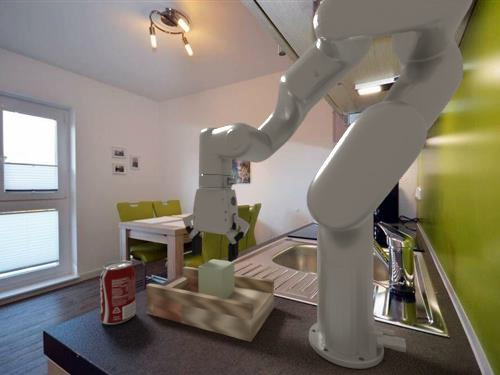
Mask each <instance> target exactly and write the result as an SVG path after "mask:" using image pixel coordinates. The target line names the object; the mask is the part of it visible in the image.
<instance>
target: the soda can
mask: <svg viewBox="0 0 500 375" xmlns="http://www.w3.org/2000/svg"><path fill="white" fill-rule="evenodd" d="M132 264H133V263H132V261H131V260H117V261H111V262H108V263H106V264H104V265H103V270H102V271H101V273H100V276H99V287H100V288H99V290H100V291H99V293H100V296H99V297H100V303H99V304H100V322H101V323H102V324H103V325H107V326H108V325H109V326H116V325H121V324H123V323H126V322H127V321H130V320H131V318H133V317H134V316H135V315H136V311H137V309H136V269H135V268H134V266H133V265H132Z"/></svg>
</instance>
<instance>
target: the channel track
mask: <svg viewBox="0 0 500 375" xmlns="http://www.w3.org/2000/svg"><path fill="white" fill-rule="evenodd" d="M234 275H235V291H234V292H233V293H232V294H231V295H230V296H229V297H228V298H226V299H225V298H220V297H215V296H210V295H205V294H201V293H199V285H198V268H197V267H192V266H191V267H190V266H184V267H182V277H179V278H177V279H176V280H174V281H172V282H170V283H169V284H167V285H161V284H156V283H147V284H146V286H145V287H146V288H145V291H146V292H145V294H146V295H145V297H146V299H145V300H146V314H148V315H150V316H154V317H157V316H158V318H162V319H166V320H169V321H173V322H176V323H180V324H183V325H188V326H191V327H195V328H198V329H202V330H206V331H210V332H213V333H218V334H221V335H225V336H229V337H232V338H235V339H238V340H242V341H247V342H250V343H252V341H253V340H254V338H255V337H256V335H257V333H258V332H259V330H260V329H261V328H262V326H263V325H264V323H265V322H266V320H267V319H268V317H269V316H270V314H271V313H272V311H273V310H274V308H275V279H268V278H263V277H257V276H250V275H245V274H244V275H243V274H239V273H237V274H236V273H234Z"/></svg>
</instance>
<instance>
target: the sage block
mask: <svg viewBox="0 0 500 375" xmlns="http://www.w3.org/2000/svg"><path fill="white" fill-rule="evenodd" d="M234 274H235V261H232V262H229V261H228V260H222V259H214V258H212V259H210V260H208V261H206V262H205V263H202V264H200V265H198V285H199V293H201V294H205V295H210V296H215V297H220V298H225V299H226V298H228V297H229V296H230V295H231V294H232V293H233V292H234V291H235V275H234Z"/></svg>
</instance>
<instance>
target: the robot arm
mask: <svg viewBox="0 0 500 375" xmlns="http://www.w3.org/2000/svg"><path fill="white" fill-rule="evenodd" d="M472 3H473V0H322V1H321V3H320V4H319V5H318V7H317V8H316V11H315V13H314V17H313V23H312V27H313V32H314V35H315V37H316V40H315V41H314V42H313V43H312V44H311V45H310V47H308V49H306V50H305V52H304V53H303V54H302V55H301V56H300V57H299V58H298V59H297V60H295V62H294V63H293V64H292V65H291V66H290V67H289V68H288V69H287V70H286V71H285V72H284V73H283V74H282V76H281V78H280V79H279V84H278V92H277V102H276V104H275V107H274V109H273V111H272V113H271V114H270V115H269V117H268V118H267V119H266V120H265V121H264V122H263V123H262V124H261V125H260V126H259V127H258V128H256V127H254V126H251V125H250V124H247V123H244V122H235V123H231V124H228V125H225V126H221V127H206V128H203V129H202V130H201V131H200V133H199V138H198V140H199V142H198V143H199V144H198V147H199V148H198V152H199V153H198V188H196V191H195V195H194V201H193V208H192V213H191V214H189V215H187V216H185V217H184V218H183V219H182V222H183V225H184V227H185V230H186V232H187V234H188V237H189V239H191V248H190V249H191V256H193V257H194V256H197V255H199V254H201V253H202V251H203V237H202V236H201V235H202V233H207V234H208V233H209V234H216V235H217V234H218V235H225V236H226V238H227V239H228V240H229V243H228V244H227V245H228V246H227V261H229V262H235V260H237V259H238V256H239V243H240V242H241V241H242V239H243V238H245V236H246V235H247V232H248V230H250V227H251V224H250V223H249V222H247V221H246V220H245V219H243V218H242V217H240V216H239V207H238V200H237V193H236V189H232V188H233V186H234V185H237V179H236V178H233V160H238V161H242V162H243V161H244V162H249V163H262V162H264V161H266V160H268V159H270V158H271V157H272V156H273V155H274V154H275V153H277V151H279V150H280V149H281V148H282V147H283V146H284V145H286V143H288V141H289V140H290V139H292V137H293V135H295V133H296V131H297V130H298V129H299V128H300V126H301V125H302V123H303V122H304V120H305V118H307V115H308V114H309V112H310V111H311V110H313V108H314V107H315V106H316V105H317V104H319V102H320V101H322V99H323V98H324V97H326V95H327V94H328V93H329V92H331V91H332V90H333V89H334V88H335V87H336V86H337V85H338V84H339V83H340V82H342V81H343V80H344V79H345V78H346V77H348V75H349V74H351V72H352V71H354V70H355V69H356V68H357V67H358V66H359V65H360V64H361V63H362V62H363V61H364V60H365V58H366V57H367V55H368V54H369V52H370V50H371V46H372V43H373V42H372V41H373V39H376V38H382V37H386V36H392V37H391V47H392V51H393V54H394V56H395V58H396V60H397V62H398V64H399V66H400V75H399V76H398V77H397V79H396V80H395V81H394V83H393V84H392V85H391V87H390V89H388V91H387V93H386V95H385V96H384V97H383V99H382V100H381V101H380V102H377V103H375V104H373V105H370V106H368V107H367V108H366V109H364V110H363V111H362V112H360V113H359V114H358V115H357V116H356V117H355V118H354V120H352V121H351V123H350V125H349V126H348V127H347V128H346V130H345V132H343V135H342V136H341V137H340V139H339V141H338V142H337V143H336V144H335V146H334V147H333V149H332V150H331V152H330V153H329V155H328V156H327V158H326V159H325V161H324V162H323V164H321V167H320V168H319V170H318V171H317V173H316V174H315V175H314V176H313V179H312V180H311V182H310V184H309V186H308V188H307V193H306V207H307V208H308V209H307V210H308V212H309V214H310V216H311V217H312V219H313V220H314V221H315V222H316V223H317V234H316V235H317V237H316V259H317V260H316V274H317V275H316V277H317V278H316V283H317V284H316V287H317V288H316V292H317V293H316V294H317V295H316V297H317V298H316V300H317V301H316V302H317V305H316V307H317V308H316V312H317V316H316V317H317V318H316V321H317V322H315V323H314V324H313V325H312V326H311V327H310V329H309V330H308V340H309V341H308V342H309V345H310V346H311V347H312V349H313V350H314V351H315V353H316V354H318V355H319V356H320V357H322V358H324V360H327V361H328V362H330V363H332V364H335V365H338V366H341V367H344V368H348V369H356V370H357V369H359V370H360V369H370V368H373V367H375V366H377V365H379V363H381V362H382V361H383V359H384V357H385V356H384V353H385V351H384V350H385V349H384V348H386V349H387V348H388V349H392V350H393V351H394V350H395V351H399V352H402V353H403V352H404V353H407V352H406V351H407V343H406V339H405V338H404V337H403V338H402V337H398V336H395V335H396V334H395V330H393V329H387V328H381V327H380V325H376V324H377V323H376V319H375V316H374V263H375V261H374V257H375V256H374V254H375V253H374V213H375V212H376V210H377V209H378V207H379V206H380V205H381V204H382V203H383V201H384V200H385V198H386V197H388V196H389V194H390V193H391V192H392V190H393V189H394V188H395V186H396V185H398V182H400V181H401V179H402V178H403V177H404V175H405V174H406V172H407V171H408V170H409V169H410V168H411V166H412V165H413V164H414V163H415V162H416V159H418V157H419V156H420V154H421V152H422V151H423V150H424V146H425V145H426V142H427V137H428V136H427V135H428V131H429V130H430V128H432V127H433V125H434V123H435V122H436V121H437V119H438V118H439V116H441V114H442V112H443V111H444V110H445V108H446V107H447V105H448V104H449V103H450V102H451V100H452V98H453V97H454V95H455V94H456V93H457V90H458V89H459V87H460V85H461V82H462V80H463V77H464V61H463V56H462V53H461V50H460V48H459V46H458V44H457V42H456V40H455V34H456V32H457V30H459V29H458V28H459V27H460V25H461V23H462V21H463V20H464V18H465V16H466V15H467V12H468V11H469V10H470V7H471V6H472ZM239 227H240V230H239ZM238 230H239V232H237V231H238Z"/></svg>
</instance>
